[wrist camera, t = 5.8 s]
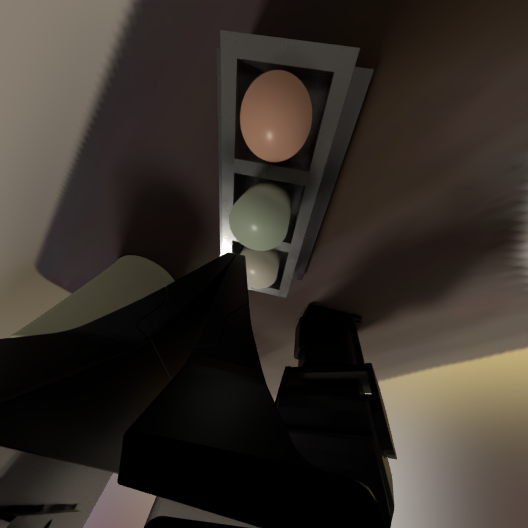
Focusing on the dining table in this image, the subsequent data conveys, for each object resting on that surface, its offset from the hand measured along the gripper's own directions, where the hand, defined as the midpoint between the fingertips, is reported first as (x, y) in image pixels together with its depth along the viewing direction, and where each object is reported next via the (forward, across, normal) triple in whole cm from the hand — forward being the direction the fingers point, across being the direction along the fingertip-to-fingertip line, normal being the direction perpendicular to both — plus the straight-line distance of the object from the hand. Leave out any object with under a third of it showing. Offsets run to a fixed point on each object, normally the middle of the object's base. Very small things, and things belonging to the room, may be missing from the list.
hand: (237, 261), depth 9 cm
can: (+9, +15, +14) cm, 23 cm away
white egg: (+8, 0, +5) cm, 9 cm away
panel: (+9, 0, 0) cm, 9 cm away
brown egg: (+8, 0, -5) cm, 10 cm away
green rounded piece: (+7, 0, 0) cm, 7 cm away
